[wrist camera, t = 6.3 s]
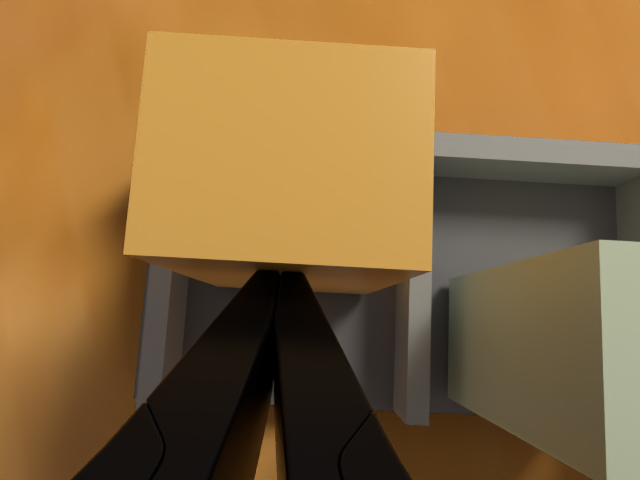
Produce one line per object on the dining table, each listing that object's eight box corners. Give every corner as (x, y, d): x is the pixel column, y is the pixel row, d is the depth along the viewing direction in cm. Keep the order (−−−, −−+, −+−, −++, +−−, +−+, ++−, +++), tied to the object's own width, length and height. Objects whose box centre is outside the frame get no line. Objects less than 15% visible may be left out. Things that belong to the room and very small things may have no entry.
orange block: (366, 294, 15) (431, 270, 7) (217, 286, 15) (123, 254, 7) (371, 182, 16) (435, 49, 8) (226, 174, 16) (147, 31, 8)
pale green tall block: (598, 404, 15) (922, 501, 7) (447, 397, 15) (607, 488, 7) (595, 286, 16) (892, 255, 8) (449, 278, 16) (598, 240, 8)
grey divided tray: (851, 426, 17) (978, 452, 13) (145, 392, 16) (107, 410, 13) (826, 189, 18) (938, 161, 15) (170, 151, 17) (140, 114, 14)
